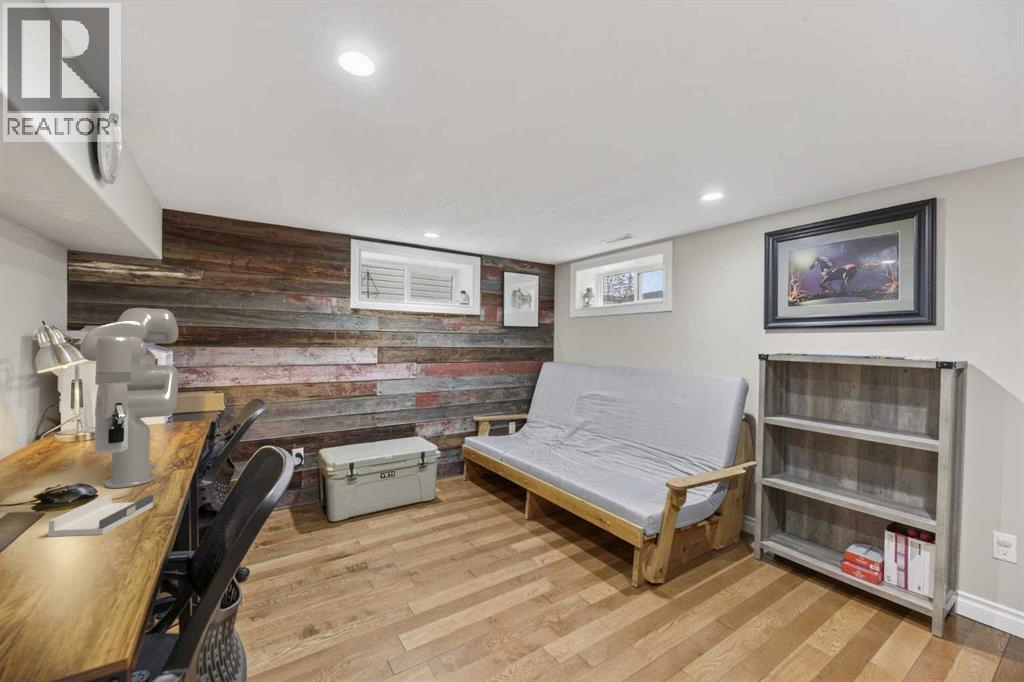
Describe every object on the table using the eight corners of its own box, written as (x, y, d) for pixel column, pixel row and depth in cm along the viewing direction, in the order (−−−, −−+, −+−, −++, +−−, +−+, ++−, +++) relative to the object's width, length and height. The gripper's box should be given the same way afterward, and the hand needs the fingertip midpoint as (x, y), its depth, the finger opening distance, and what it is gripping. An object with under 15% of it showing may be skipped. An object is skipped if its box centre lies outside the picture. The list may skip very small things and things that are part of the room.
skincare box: (128, 449, 123) (129, 408, 124) (121, 452, 119) (122, 410, 120) (101, 450, 121) (102, 409, 121) (93, 454, 117) (95, 411, 117)
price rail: (149, 501, 123) (149, 495, 123) (153, 501, 123) (154, 494, 123) (99, 528, 106) (99, 520, 106) (104, 528, 106) (104, 520, 106)
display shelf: (106, 508, 122) (107, 494, 122) (152, 506, 123) (153, 493, 123) (48, 536, 104) (48, 520, 104) (103, 534, 106) (103, 518, 106)
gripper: (86, 378, 122) (84, 439, 122) (105, 380, 113) (103, 447, 112) (120, 377, 128) (118, 435, 128) (141, 379, 119) (139, 442, 119)
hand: (111, 440), depth 120 cm, fingers closed on skincare box, 6 cm apart
